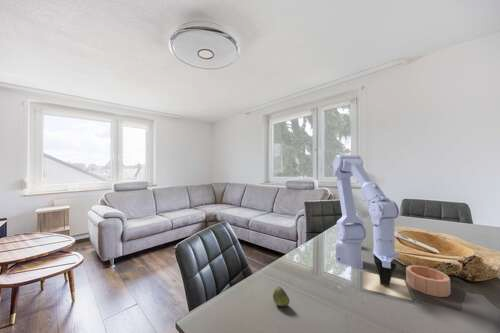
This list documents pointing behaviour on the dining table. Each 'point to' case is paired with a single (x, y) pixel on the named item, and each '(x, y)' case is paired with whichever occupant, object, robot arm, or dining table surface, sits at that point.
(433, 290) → the bowl
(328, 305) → the dining table surface
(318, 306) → the dining table surface
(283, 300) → the lime
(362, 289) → the mat
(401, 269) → the dining table surface
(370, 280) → the lid
